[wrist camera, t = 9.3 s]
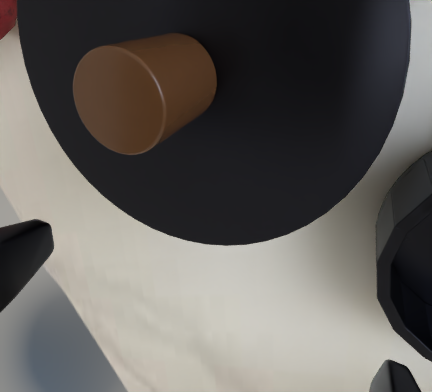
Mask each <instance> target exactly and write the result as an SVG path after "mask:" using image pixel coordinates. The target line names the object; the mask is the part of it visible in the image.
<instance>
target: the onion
mask: <svg viewBox="0 0 432 392" xmlns="http://www.w3.org/2000/svg"><path fill="white" fill-rule="evenodd" d="M16 18H17V0H0V40H1V39H2V38H3V37H4V36H5V35H6V34H7V33H8V32H9V31H10V30H11V29H12V28H13V27H14V26H15V22H16Z"/></svg>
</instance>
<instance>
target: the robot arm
mask: <svg viewBox="0 0 432 392" xmlns="http://www.w3.org/2000/svg"><path fill="white" fill-rule="evenodd" d="M53 249H54V241H53V235H52V228H51V226H50V224H48V223H46V222H44V221H41V220H38V219H34V220H29V221H25V222H21V223H18V224H14V225H9V226H5V227H1V228H0V312H1V311H2V310H3V309H4V308H5V307H6V306H7V305H8V304H9V303H10V302H11V301H12V300H13V299H14V298H15V297H16V296H17V295H18V293H19V292H20V291H21V290H22V289H23V288H24V286H25V285H26V284H27V283H28V282H29V280H30V279H31V278H32V277H33V276H34V274H35V273H36V272H37V271H38V270H39V268H40V267H41V266H42V265H43V264H44V262H45V261H46V260H47V259H48V257H49V256H50V255H51V254H52V252H53ZM369 392H421V390H420V389H419V387H418V385H417V383H416V381H415V379H414V377H413V375H412V374H411V372H410V370H409V369H408V368H407V367H406V366H404V365H402V364H400V363H397V362H395V361H392V360H386V361H385V362H384V363H383V364H382V366H381V367H380V369H379V371H378V372H377V374H376V375H375V377H374V378H373V380H372V383H371V386H370V390H369Z"/></svg>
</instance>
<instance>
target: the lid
mask: <svg viewBox="0 0 432 392" xmlns="http://www.w3.org/2000/svg"><path fill="white" fill-rule="evenodd" d="M17 20H18V28H19V36H20V43H21V48H22V53H23V57H24V62H25V67H26V70H27V73H28V76H29V80H30V83H31V86H32V89H33V92H34V94H35V97H36V99H37V102H38V104H39V107H40V109H41V111H42V113H43V115H44V117H45V119H46V121H47V123H48V125H49V127H50V129H51V131H52V133H53V134H54V136H55V138H56V139H57V141H58V143H59V144H60V146H61V147H62V149H63V150H64V152H65V153H66V155H67V156H68V157H69V159H70V160H71V161H72V163H73V164H74V165H75V167H76V168H77V169H78V170H79V171H80V172H81V174H82V175H83V176H84V177H85V178H86V179H87V180H88V182H89V183H90V184H91V185H93V186H94V187H95V188H96V189H97V190H98V191H99V192H100V193H101V194H102V195H103V196H104V197H105V198H107V199H108V200H109V201H110V202H112V203H113V204H114V205H115V206H117V207H118V208H119V209H121V210H122V211H124V212H125V213H127V214H128V215H130V216H131V217H133V218H134V219H136V220H138V221H140V222H141V223H143V224H145V225H147V226H149V227H151V228H153V229H155V230H158V231H160V232H163V233H165V234H167V235H170V236H173V237H177V238H180V239H183V240H187V241H192V242H197V243H203V244H210V245H225V246H228V245H247V244H252V243H258V242H264V241H268V240H271V239H274V238H278V237H281V236H284V235H287V234H289V233H291V232H293V231H296V230H298V229H300V228H302V227H304V226H306V225H308V224H310V223H311V222H313V221H314V220H316V219H318V218H319V217H321V216H322V215H324V214H325V213H327V212H328V211H329V210H330V209H332V208H333V207H334V206H335V205H336V204H338V203H339V202H340V201H341V200H342V199H343V198H345V197H346V196H347V195H348V193H349V192H350V191H351V190H352V189H353V188H354V187H355V186H356V185H357V183H358V182H359V181H360V180H361V179H362V178H363V177H364V175H365V174H366V172H367V171H368V169H369V168H370V166H371V165H372V163H373V162H374V160H375V159H376V158H377V156H378V155H379V153H380V151H381V149H382V147H383V145H384V143H385V141H386V139H387V137H388V135H389V133H390V131H391V129H392V127H393V124H394V121H395V118H396V115H397V112H398V109H399V106H400V103H401V100H402V97H403V93H404V88H405V82H406V77H407V72H408V66H409V61H410V41H411V14H410V3H409V0H17Z"/></svg>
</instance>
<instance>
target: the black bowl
mask: <svg viewBox="0 0 432 392" xmlns="http://www.w3.org/2000/svg"><path fill="white" fill-rule="evenodd" d="M376 268H377V299H378V301H379V303H380V305H381V307H382V308H383V310H384V312H385V314H386V316H387V318H388V320H389V322H390V324H391V326H392V328H393V330H395V332H396V333H398V334H399V335H400V336H401V337H402V338H403V339H404V340H405V341H406V342H407V343H409V344H410V345H411V346H412V347H413V348H414V349H415V350H416V351H417V352H418V353H420V354H421V355H422V356H423V357H425V358H426V359H428V360H430V361H432V151H430V152H429V153H427V154H426V155H424V156H423V157H422V158H420V159H419V160H418V161H417V162H415V163H414V164H413V165H412V166H410V167H409V168H408V169H407V170H406V171H405V172H404V173H403V174H402V175H401V176H400V177H399V178H398V180H397V181H396V182H395V184H394V185H393V186H392V188H391V189H390V190H389V192H388V194H387V196H386V198H385V200H384V201H383V204H382V206H381V209H380V212H379V215H378V220H377V222H376Z"/></svg>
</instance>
